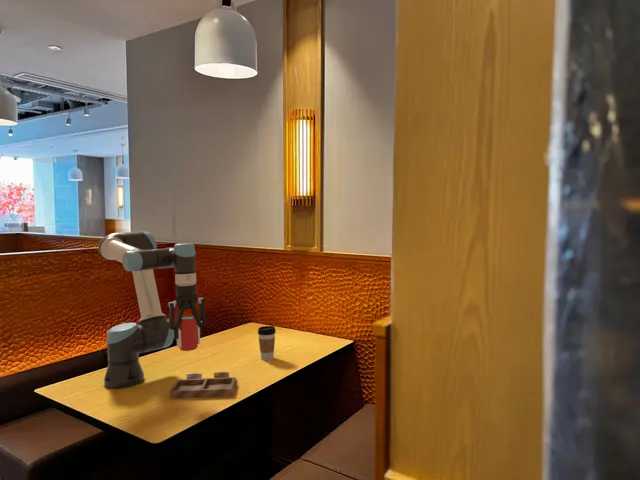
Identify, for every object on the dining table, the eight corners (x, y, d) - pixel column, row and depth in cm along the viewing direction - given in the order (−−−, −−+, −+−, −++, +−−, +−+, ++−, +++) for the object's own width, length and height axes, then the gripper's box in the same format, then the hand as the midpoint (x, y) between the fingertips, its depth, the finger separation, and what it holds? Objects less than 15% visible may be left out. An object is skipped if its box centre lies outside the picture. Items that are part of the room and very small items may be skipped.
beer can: (176, 349, 168) (174, 318, 168) (191, 345, 173) (190, 314, 173) (185, 352, 164) (184, 320, 163) (201, 348, 169) (199, 316, 168)
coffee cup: (273, 361, 206) (272, 329, 205) (255, 360, 208) (255, 329, 207) (278, 356, 215) (277, 325, 214) (261, 355, 216) (260, 324, 215)
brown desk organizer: (170, 398, 167) (169, 388, 167) (179, 383, 182) (179, 373, 182) (232, 396, 169) (231, 385, 168) (236, 380, 184) (236, 371, 184)
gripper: (163, 288, 159) (166, 352, 160) (214, 282, 170) (217, 342, 171) (156, 286, 164) (159, 348, 166) (206, 280, 176) (209, 338, 177)
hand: (188, 344), depth 169 cm, fingers closed on beer can, 6 cm apart
